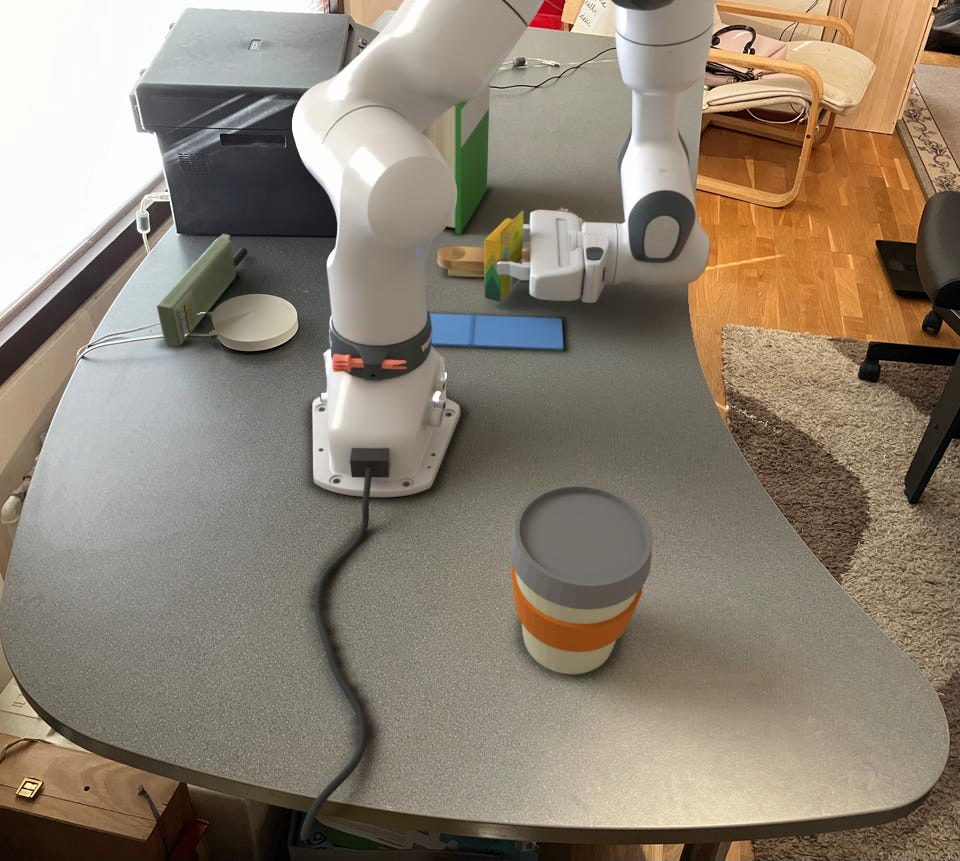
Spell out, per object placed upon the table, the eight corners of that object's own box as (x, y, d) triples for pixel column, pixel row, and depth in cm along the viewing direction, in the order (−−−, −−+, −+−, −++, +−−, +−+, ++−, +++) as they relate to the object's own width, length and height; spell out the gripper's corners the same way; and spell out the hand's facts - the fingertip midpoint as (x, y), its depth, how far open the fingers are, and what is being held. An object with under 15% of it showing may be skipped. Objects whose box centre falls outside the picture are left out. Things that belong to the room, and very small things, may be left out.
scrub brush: (547, 266, 139) (549, 249, 137) (548, 281, 136) (549, 264, 134) (438, 262, 139) (438, 245, 137) (436, 276, 136) (436, 259, 134)
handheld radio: (160, 344, 121) (234, 256, 139) (182, 348, 121) (254, 259, 139) (151, 304, 117) (229, 218, 135) (174, 308, 116) (249, 221, 135)
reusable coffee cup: (479, 621, 86) (482, 517, 77) (576, 566, 92) (590, 463, 82) (558, 715, 79) (573, 613, 69) (659, 649, 84) (686, 546, 75)
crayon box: (505, 275, 134) (507, 205, 126) (522, 280, 133) (525, 209, 125) (482, 298, 129) (483, 226, 121) (500, 303, 128) (502, 231, 120)
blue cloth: (563, 350, 122) (563, 347, 121) (420, 345, 122) (420, 342, 122) (561, 320, 127) (561, 318, 127) (425, 315, 128) (425, 312, 127)
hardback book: (460, 234, 147) (461, 90, 131) (418, 227, 148) (414, 84, 132) (486, 189, 160) (490, 53, 144) (448, 184, 161) (447, 49, 145)
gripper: (591, 200, 132) (500, 198, 132) (599, 270, 116) (496, 266, 117) (587, 238, 136) (499, 235, 136) (594, 310, 121) (495, 306, 121)
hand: (497, 250), depth 126 cm, fingers closed on crayon box, 7 cm apart
